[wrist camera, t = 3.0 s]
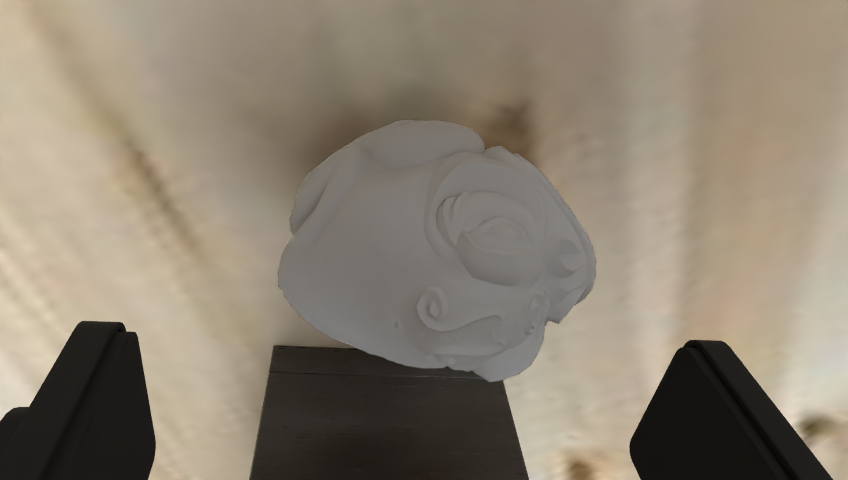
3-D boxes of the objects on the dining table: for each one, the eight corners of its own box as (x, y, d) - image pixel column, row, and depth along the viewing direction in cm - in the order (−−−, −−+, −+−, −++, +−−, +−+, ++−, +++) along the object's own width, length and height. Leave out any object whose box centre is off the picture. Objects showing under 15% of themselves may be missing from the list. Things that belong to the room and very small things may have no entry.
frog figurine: (535, 241, 18) (614, 417, 13) (320, 277, 18) (301, 469, 13) (528, 51, 15) (632, 174, 9) (264, 96, 15) (203, 245, 9)
